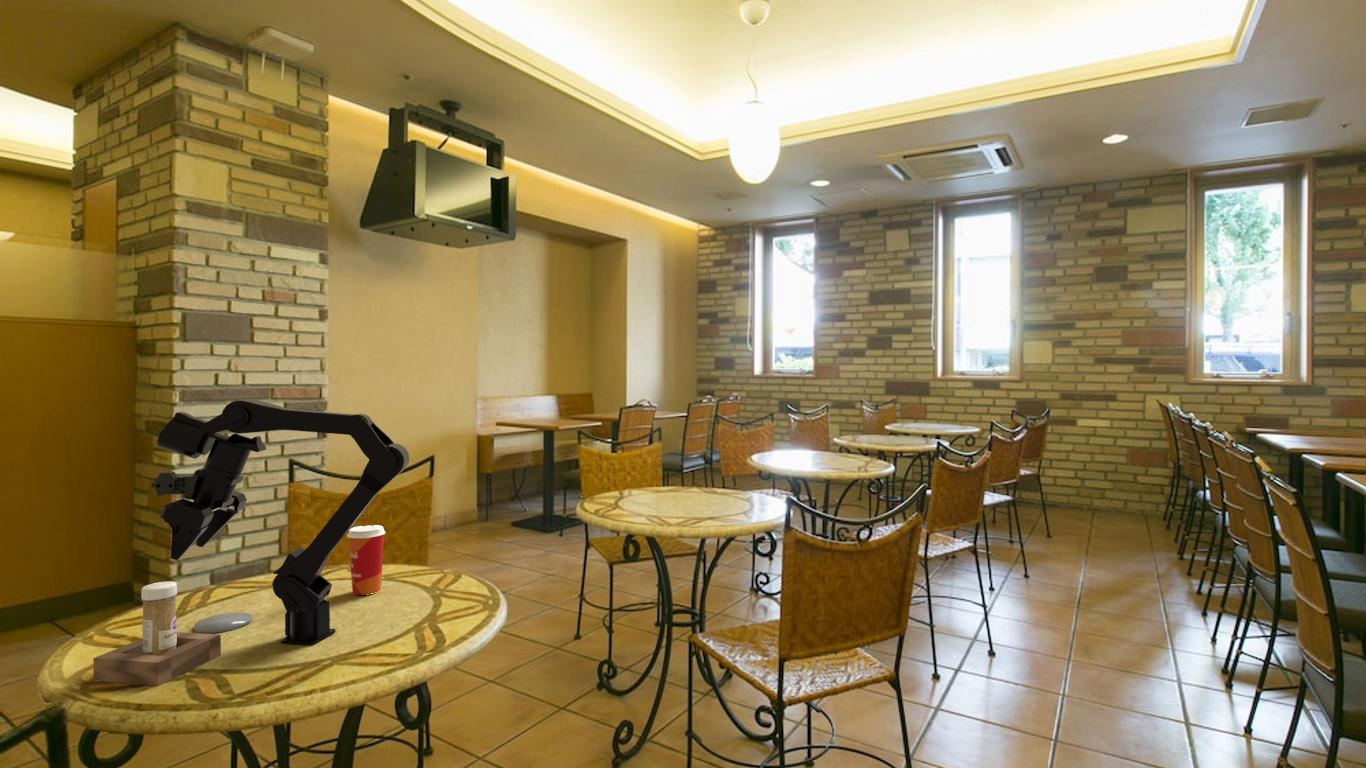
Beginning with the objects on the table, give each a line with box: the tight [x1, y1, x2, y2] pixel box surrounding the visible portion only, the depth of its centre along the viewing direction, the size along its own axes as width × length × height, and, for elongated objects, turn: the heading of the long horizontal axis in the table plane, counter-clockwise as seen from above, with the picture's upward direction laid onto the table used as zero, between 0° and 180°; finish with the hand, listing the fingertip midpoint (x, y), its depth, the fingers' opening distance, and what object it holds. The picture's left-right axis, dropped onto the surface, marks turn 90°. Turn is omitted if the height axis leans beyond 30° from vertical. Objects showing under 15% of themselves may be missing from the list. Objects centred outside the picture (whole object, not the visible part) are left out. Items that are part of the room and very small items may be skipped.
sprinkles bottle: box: [141, 581, 178, 656], centre depth 110 cm, size 5×5×14 cm
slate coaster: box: [193, 611, 252, 634], centre depth 129 cm, size 9×9×1 cm
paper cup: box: [346, 524, 387, 596], centre depth 149 cm, size 8×8×14 cm
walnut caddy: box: [92, 631, 222, 687], centre depth 110 cm, size 12×12×4 cm
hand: (187, 552), depth 118 cm, fingers open, 9 cm apart
